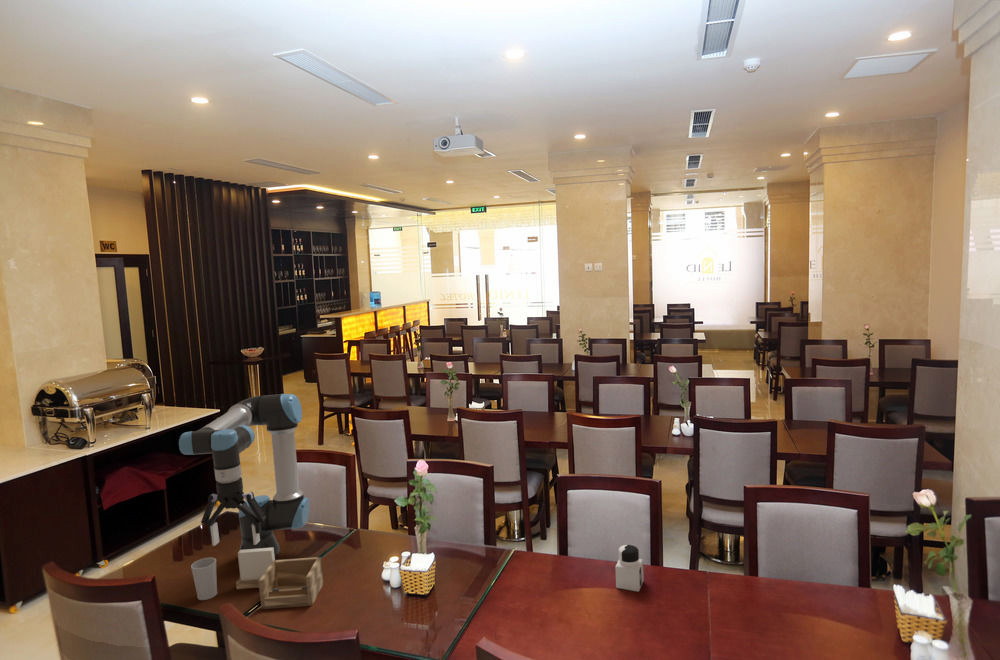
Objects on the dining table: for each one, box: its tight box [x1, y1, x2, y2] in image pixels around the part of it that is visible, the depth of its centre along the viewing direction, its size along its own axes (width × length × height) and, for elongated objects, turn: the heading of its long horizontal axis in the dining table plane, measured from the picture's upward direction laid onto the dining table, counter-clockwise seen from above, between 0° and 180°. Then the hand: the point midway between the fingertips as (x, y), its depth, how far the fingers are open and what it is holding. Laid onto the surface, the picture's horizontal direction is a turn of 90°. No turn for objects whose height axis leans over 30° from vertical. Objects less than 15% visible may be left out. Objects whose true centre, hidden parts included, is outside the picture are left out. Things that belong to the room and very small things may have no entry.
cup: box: [190, 557, 218, 601], centre depth 208 cm, size 8×8×12 cm
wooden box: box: [258, 556, 324, 610], centre depth 204 cm, size 14×17×10 cm
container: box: [615, 544, 644, 592], centre depth 198 cm, size 8×8×13 cm
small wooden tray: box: [235, 576, 260, 590], centre depth 214 cm, size 5×14×2 cm, turn 92°
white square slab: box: [237, 547, 276, 581], centre depth 213 cm, size 3×12×13 cm, turn 92°
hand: (236, 543), depth 187 cm, fingers open, 13 cm apart
